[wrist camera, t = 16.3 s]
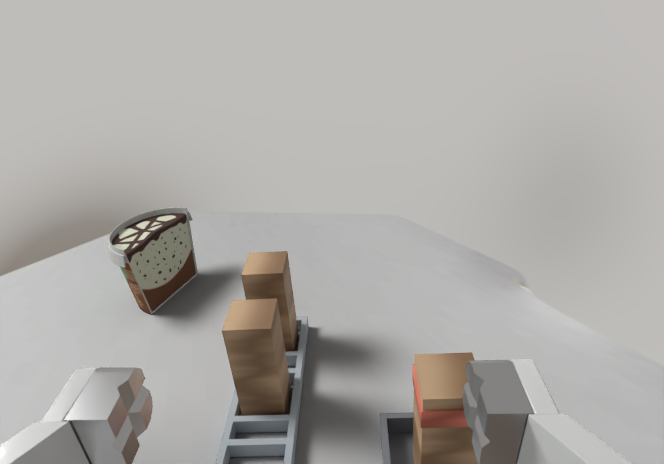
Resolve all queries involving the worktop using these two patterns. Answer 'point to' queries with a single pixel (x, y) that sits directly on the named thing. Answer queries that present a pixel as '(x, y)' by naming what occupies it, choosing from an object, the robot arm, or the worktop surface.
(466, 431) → the block
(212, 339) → the worktop surface
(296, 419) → the holder
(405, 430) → the tray
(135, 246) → the food container
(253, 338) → the plain cartridge
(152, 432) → the worktop surface
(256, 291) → the plain cartridge
